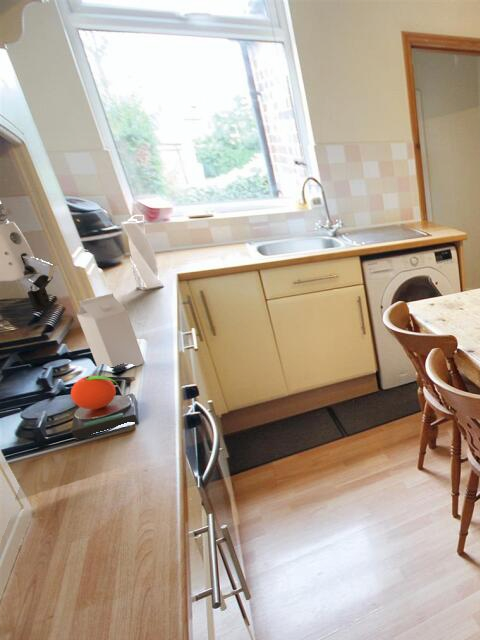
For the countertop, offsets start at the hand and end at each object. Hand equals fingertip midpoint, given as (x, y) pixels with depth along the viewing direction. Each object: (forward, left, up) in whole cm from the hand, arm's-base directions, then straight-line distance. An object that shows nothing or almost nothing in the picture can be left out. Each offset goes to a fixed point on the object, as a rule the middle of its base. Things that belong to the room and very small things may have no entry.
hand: (12, 310), depth 85 cm
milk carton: (-4, +30, -26) cm, 39 cm away
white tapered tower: (-31, +107, -26) cm, 115 cm away
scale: (+7, +1, -26) cm, 27 cm away
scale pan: (+7, +2, -23) cm, 24 cm away
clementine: (+7, +2, -23) cm, 24 cm away
